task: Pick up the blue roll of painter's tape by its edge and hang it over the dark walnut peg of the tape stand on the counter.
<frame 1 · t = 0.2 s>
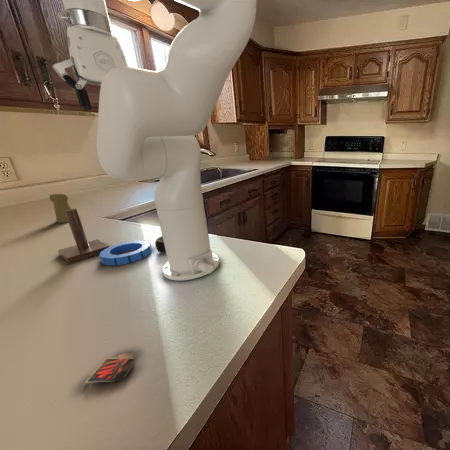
hand: (112, 111, 60), 36 cm above the counter, tool pointing down, fingers open, 9 cm apart
tape stand: (85, 252, 68), on the counter
tape roll: (127, 255, 66), on the counter
matchbox: (115, 369, 33), on the counter
tape measure: (174, 249, 69), on the counter
cork: (67, 220, 98), on the counter
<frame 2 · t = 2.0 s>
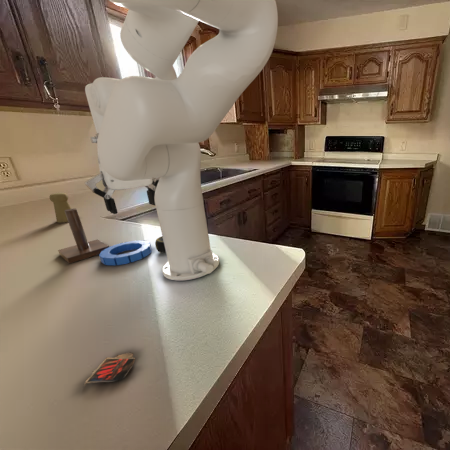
hand: (134, 208, 66), 12 cm above the counter, tool pointing down, fingers open, 9 cm apart
nothing on the counter moved.
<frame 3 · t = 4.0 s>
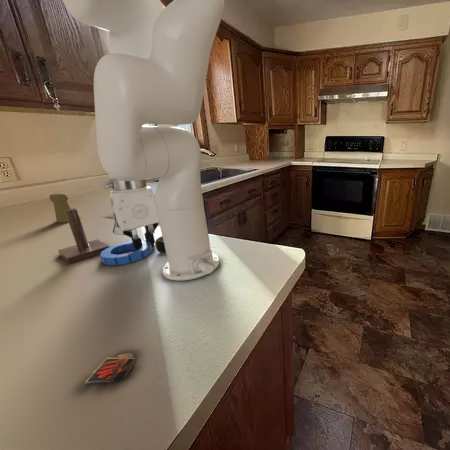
hand: (145, 248, 69), 0 cm above the counter, tool pointing down, fingers closed on tape roll, 2 cm apart
tape roll: (128, 255, 66), on the counter, touching gripper
everything else where it was.
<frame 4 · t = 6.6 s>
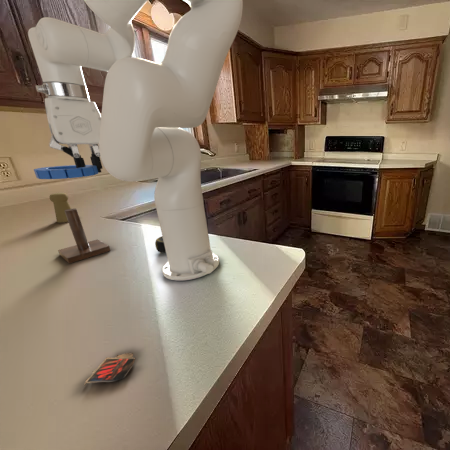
hand: (91, 172, 64), 22 cm above the counter, tool pointing down, fingers closed on tape roll
tape roll: (69, 175, 61), point 21 cm above the counter, touching gripper
everything else where it was.
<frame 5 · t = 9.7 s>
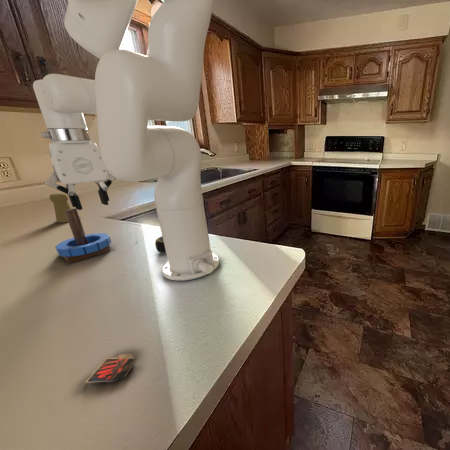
hand: (92, 206, 67), 12 cm above the counter, tool pointing down, fingers open, 5 cm apart
tape roll: (86, 247, 68), point 1 cm above the counter, touching tape stand
everything else where it was.
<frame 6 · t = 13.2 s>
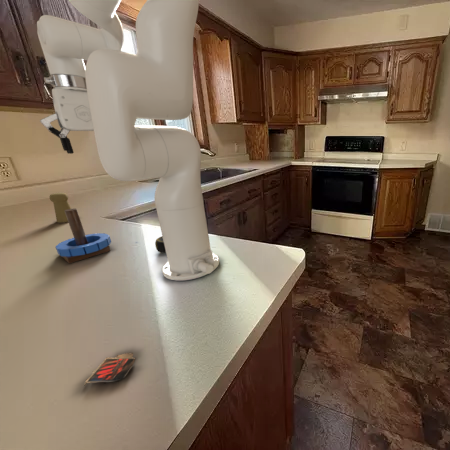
hand: (92, 152, 71), 26 cm above the counter, tool pointing down, fingers open, 9 cm apart
nothing on the counter moved.
at the end: tape roll 0.5 cm from the tape stand (horizontally); tape roll point 1.5 cm above the counter; the gripper is holding nothing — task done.
